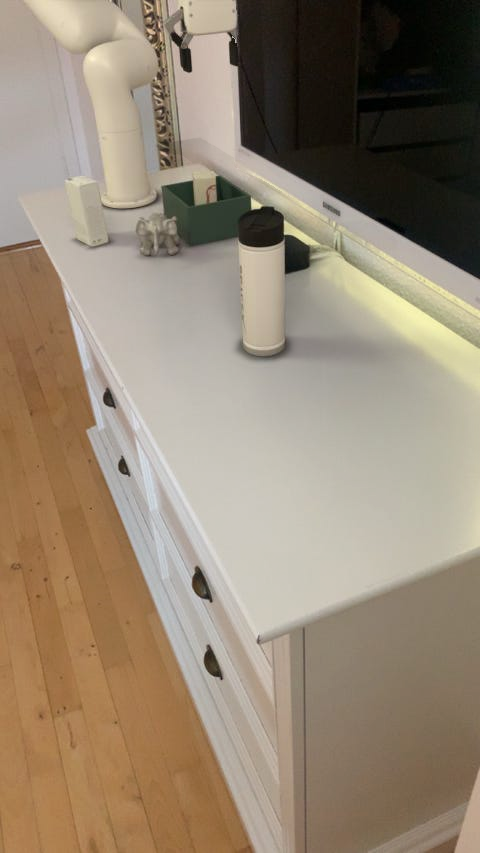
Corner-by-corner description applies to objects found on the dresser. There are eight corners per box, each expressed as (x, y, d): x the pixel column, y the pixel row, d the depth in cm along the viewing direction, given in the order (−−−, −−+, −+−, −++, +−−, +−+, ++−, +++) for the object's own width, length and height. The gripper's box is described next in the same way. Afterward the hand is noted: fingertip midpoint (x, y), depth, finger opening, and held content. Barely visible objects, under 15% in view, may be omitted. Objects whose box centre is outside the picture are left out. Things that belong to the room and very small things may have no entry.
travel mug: (290, 337, 106) (290, 207, 94) (278, 359, 101) (276, 225, 89) (251, 332, 108) (246, 203, 96) (237, 354, 103) (230, 221, 91)
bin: (164, 221, 148) (161, 185, 143) (222, 210, 152) (220, 175, 147) (191, 246, 136) (187, 208, 132) (252, 233, 140) (251, 195, 136)
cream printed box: (219, 228, 142) (216, 177, 136) (197, 230, 142) (193, 179, 136) (216, 219, 146) (213, 169, 140) (195, 220, 146) (191, 171, 140)
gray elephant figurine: (176, 240, 139) (172, 201, 134) (195, 262, 130) (192, 222, 125) (131, 248, 137) (125, 209, 132) (147, 271, 128) (142, 231, 123)
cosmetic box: (110, 242, 140) (100, 180, 132) (90, 248, 138) (79, 186, 130) (94, 233, 144) (84, 173, 136) (75, 239, 141) (63, 179, 134)
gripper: (241, -45, 128) (244, 60, 138) (151, -38, 122) (161, 71, 132) (258, -43, 122) (261, 66, 132) (165, -36, 117) (175, 77, 127)
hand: (211, 68), depth 132 cm, fingers open, 9 cm apart
